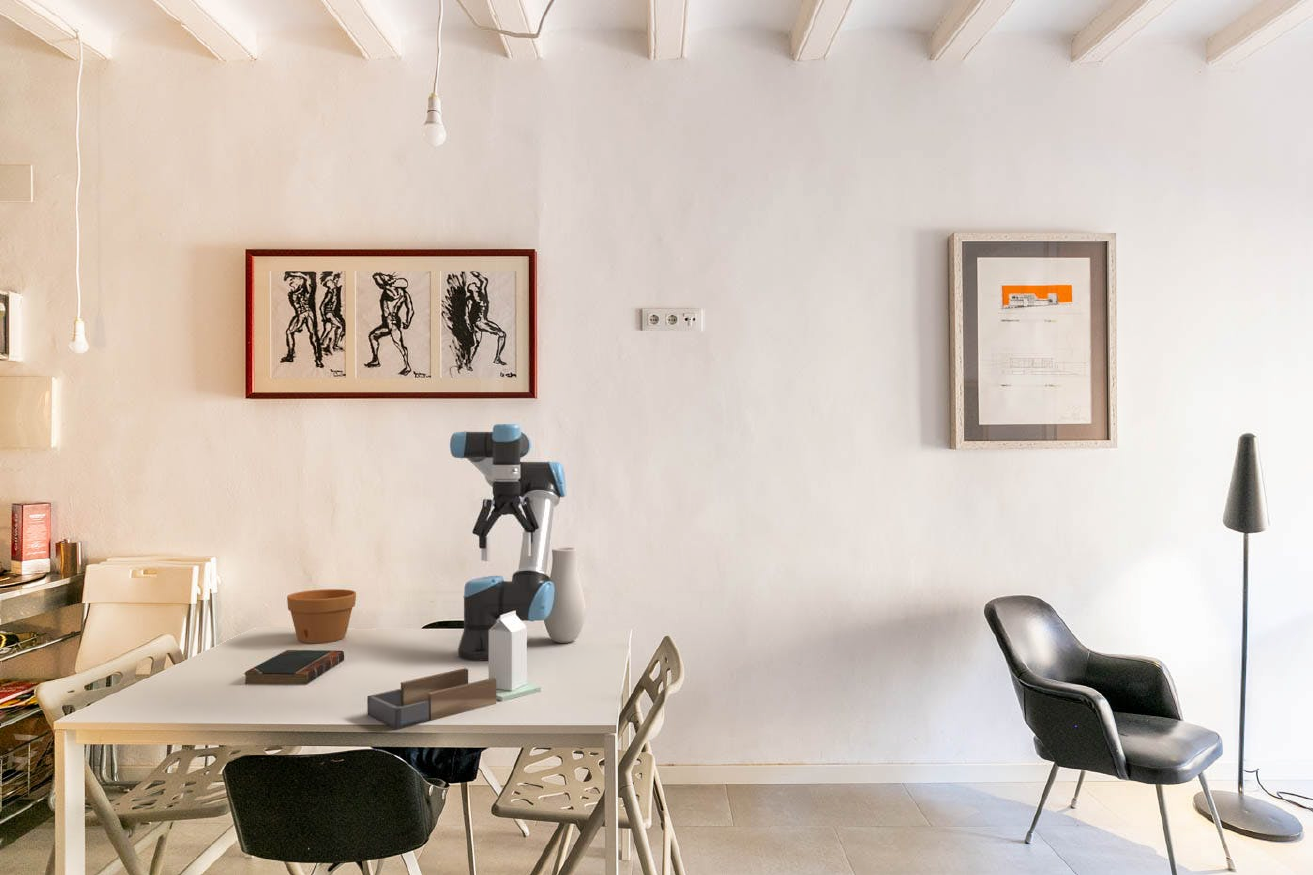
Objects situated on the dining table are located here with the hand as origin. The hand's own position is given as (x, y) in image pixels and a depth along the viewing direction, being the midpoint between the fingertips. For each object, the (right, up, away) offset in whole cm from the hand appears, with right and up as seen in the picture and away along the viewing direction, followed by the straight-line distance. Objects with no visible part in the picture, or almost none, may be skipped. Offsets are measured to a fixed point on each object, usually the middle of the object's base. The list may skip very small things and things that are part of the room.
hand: (506, 558), depth 228 cm
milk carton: (+2, -32, -12) cm, 34 cm away
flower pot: (-69, -33, +46) cm, 89 cm away
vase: (+11, -33, +42) cm, 55 cm away
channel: (-10, -32, -24) cm, 42 cm away
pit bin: (-19, -32, -34) cm, 51 cm away
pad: (+2, -33, -12) cm, 35 cm away
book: (-60, -33, +6) cm, 69 cm away
